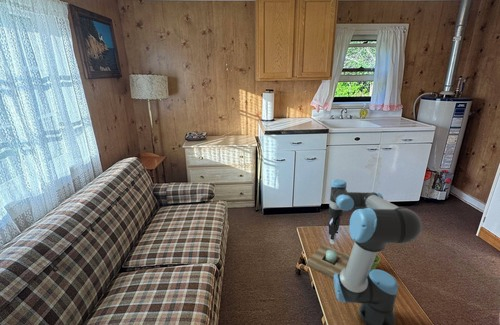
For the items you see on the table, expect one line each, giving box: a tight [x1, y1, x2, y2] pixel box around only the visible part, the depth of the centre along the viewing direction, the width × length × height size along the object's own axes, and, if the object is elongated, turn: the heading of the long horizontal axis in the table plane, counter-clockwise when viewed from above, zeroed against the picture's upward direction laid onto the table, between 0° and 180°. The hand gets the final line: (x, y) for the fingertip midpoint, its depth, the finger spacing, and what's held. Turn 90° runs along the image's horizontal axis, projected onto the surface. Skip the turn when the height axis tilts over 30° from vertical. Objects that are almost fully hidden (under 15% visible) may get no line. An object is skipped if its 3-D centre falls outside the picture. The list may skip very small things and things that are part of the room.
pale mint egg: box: [325, 250, 337, 265], centre depth 156 cm, size 6×6×5 cm
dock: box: [306, 243, 350, 280], centre depth 157 cm, size 20×20×4 cm
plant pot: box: [369, 254, 381, 273], centre depth 152 cm, size 9×9×9 cm
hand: (332, 243), depth 153 cm, fingers closed
